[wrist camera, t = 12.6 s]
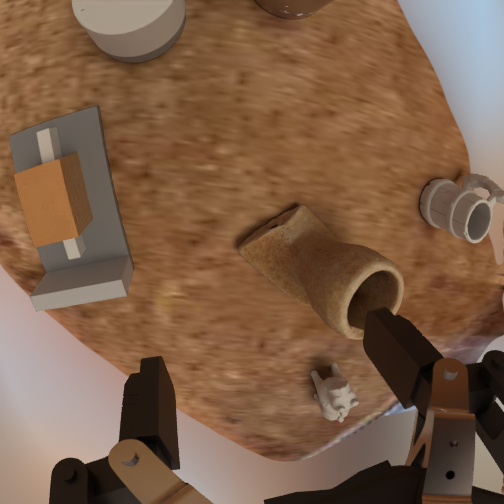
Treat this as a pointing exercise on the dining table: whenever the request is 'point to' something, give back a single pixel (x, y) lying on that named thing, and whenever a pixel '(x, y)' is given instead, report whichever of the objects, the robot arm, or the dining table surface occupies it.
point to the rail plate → (102, 207)
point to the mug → (461, 206)
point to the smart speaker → (132, 26)
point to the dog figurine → (334, 395)
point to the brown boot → (324, 270)
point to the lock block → (54, 200)
